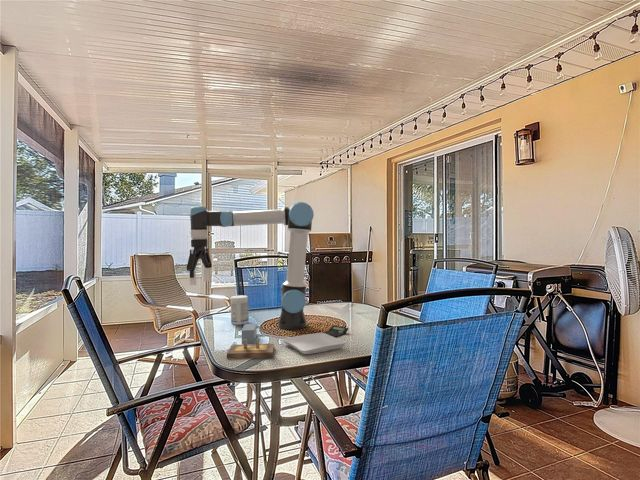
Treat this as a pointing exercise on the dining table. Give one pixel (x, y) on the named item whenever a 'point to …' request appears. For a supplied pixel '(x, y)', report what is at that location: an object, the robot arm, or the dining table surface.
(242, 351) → the board
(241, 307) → the supplement tub
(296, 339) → the salad plate
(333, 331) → the calculator
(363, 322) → the dining table surface
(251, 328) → the block
